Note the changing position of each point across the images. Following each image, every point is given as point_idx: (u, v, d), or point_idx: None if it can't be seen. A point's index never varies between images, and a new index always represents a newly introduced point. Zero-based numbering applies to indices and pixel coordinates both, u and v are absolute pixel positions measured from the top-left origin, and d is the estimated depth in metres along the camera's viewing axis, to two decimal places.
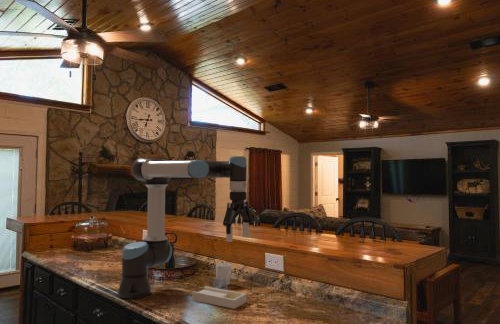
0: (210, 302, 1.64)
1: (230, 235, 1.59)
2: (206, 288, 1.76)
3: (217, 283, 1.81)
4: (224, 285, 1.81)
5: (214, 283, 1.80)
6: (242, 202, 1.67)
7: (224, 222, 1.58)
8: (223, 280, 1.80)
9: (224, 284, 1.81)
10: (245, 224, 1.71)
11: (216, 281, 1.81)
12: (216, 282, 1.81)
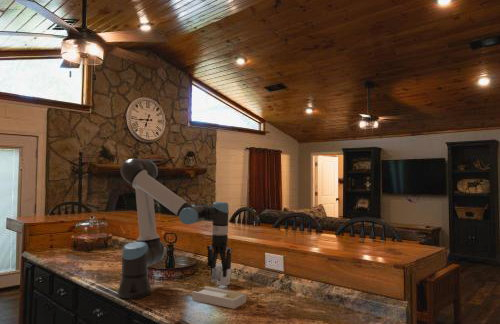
0: (210, 302, 1.64)
1: None
2: (206, 288, 1.76)
3: (216, 274, 1.82)
4: None
5: (213, 274, 1.80)
6: (222, 244, 1.80)
7: None
8: None
9: None
10: None
11: (215, 273, 1.81)
12: (215, 274, 1.81)
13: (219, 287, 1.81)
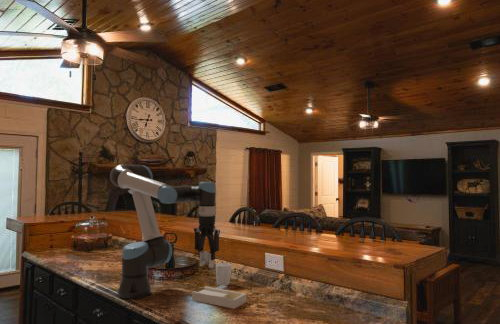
0: (210, 302, 1.64)
1: None
2: (206, 288, 1.76)
3: (204, 258, 1.73)
4: None
5: (201, 258, 1.71)
6: (209, 226, 1.71)
7: None
8: None
9: None
10: None
11: (203, 256, 1.72)
12: (203, 257, 1.72)
13: (219, 287, 1.81)
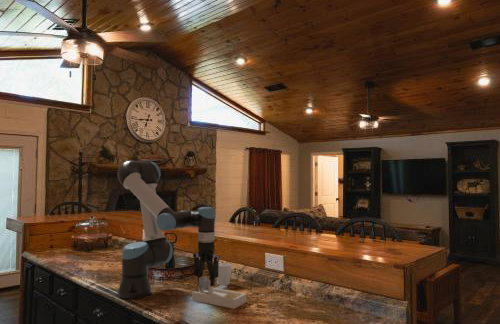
0: (210, 302, 1.64)
1: None
2: None
3: (203, 284, 1.72)
4: None
5: (200, 284, 1.71)
6: (209, 252, 1.70)
7: None
8: None
9: None
10: None
11: (202, 282, 1.71)
12: (202, 283, 1.71)
13: (219, 287, 1.81)
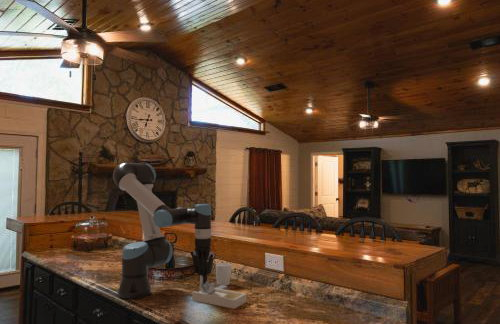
0: (210, 302, 1.64)
1: None
2: None
3: (205, 288, 1.71)
4: (213, 290, 1.71)
5: (202, 288, 1.70)
6: (206, 248, 1.71)
7: None
8: (212, 285, 1.70)
9: (213, 289, 1.71)
10: None
11: (204, 287, 1.71)
12: (204, 288, 1.71)
13: (219, 287, 1.81)
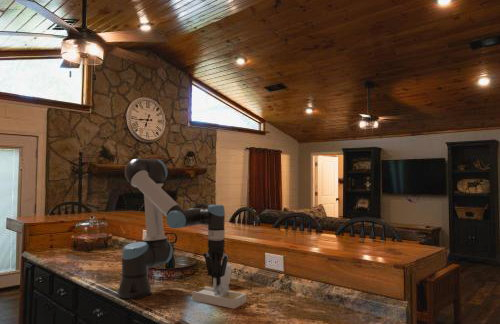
0: (210, 302, 1.64)
1: None
2: (206, 288, 1.76)
3: (219, 291, 1.68)
4: (226, 293, 1.67)
5: (216, 291, 1.66)
6: (219, 250, 1.67)
7: None
8: (225, 288, 1.66)
9: (226, 292, 1.67)
10: None
11: (218, 289, 1.67)
12: (218, 290, 1.67)
13: None
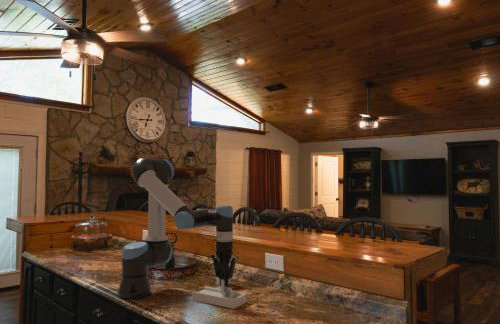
0: (210, 302, 1.64)
1: None
2: (206, 288, 1.76)
3: (227, 295, 1.65)
4: None
5: (224, 295, 1.64)
6: (228, 251, 1.65)
7: None
8: (234, 294, 1.64)
9: (234, 298, 1.65)
10: None
11: (226, 293, 1.65)
12: (226, 294, 1.65)
13: (219, 287, 1.81)
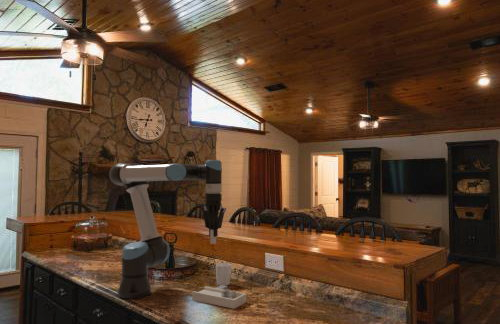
0: (210, 302, 1.64)
1: None
2: (206, 288, 1.76)
3: (226, 296, 1.66)
4: None
5: None
6: (216, 203, 1.74)
7: None
8: (232, 293, 1.64)
9: (233, 298, 1.65)
10: None
11: (225, 295, 1.65)
12: (225, 296, 1.65)
13: (219, 287, 1.81)
